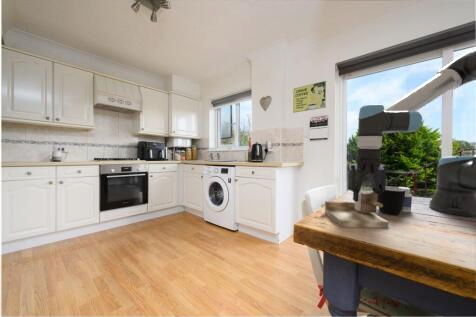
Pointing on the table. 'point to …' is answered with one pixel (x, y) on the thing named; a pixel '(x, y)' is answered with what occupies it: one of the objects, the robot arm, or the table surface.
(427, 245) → the table surface
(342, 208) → the board
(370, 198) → the block
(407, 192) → the pill bottle
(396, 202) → the mug
